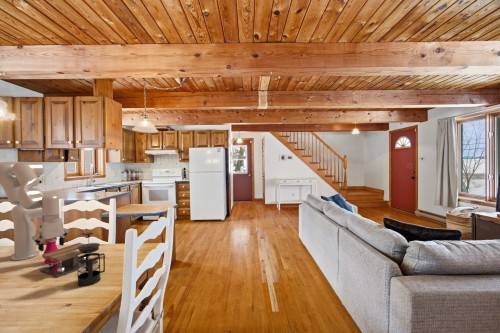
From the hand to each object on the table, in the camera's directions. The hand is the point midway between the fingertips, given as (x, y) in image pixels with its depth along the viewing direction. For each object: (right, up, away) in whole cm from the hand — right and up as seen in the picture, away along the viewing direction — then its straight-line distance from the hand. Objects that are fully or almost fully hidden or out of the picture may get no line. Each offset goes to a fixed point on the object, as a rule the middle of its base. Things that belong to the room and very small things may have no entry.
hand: (51, 247), depth 137 cm
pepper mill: (0, -9, 0) cm, 9 cm away
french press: (+36, -9, -21) cm, 43 cm away
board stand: (+14, -8, -6) cm, 18 cm away
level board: (+14, -1, -6) cm, 16 cm away
